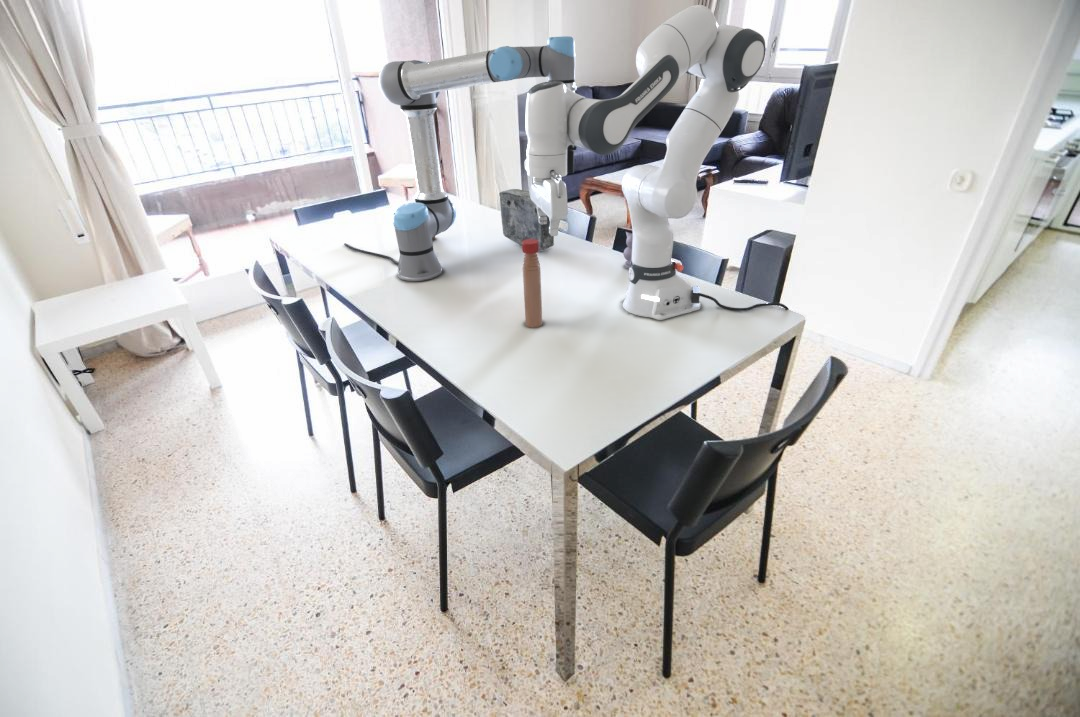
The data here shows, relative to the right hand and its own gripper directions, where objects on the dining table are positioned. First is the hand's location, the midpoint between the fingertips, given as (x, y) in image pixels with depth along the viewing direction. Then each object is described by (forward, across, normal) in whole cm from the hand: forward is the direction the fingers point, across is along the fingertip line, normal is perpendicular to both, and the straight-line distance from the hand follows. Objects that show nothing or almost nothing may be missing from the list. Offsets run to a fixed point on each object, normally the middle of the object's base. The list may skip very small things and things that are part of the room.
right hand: (547, 229), depth 115 cm
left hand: (-2, +44, -17) cm, 47 cm away
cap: (+9, +12, +2) cm, 15 cm away
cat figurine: (+30, +42, -43) cm, 67 cm away
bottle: (+30, +12, +1) cm, 32 cm away
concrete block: (+30, +76, -13) cm, 83 cm away
